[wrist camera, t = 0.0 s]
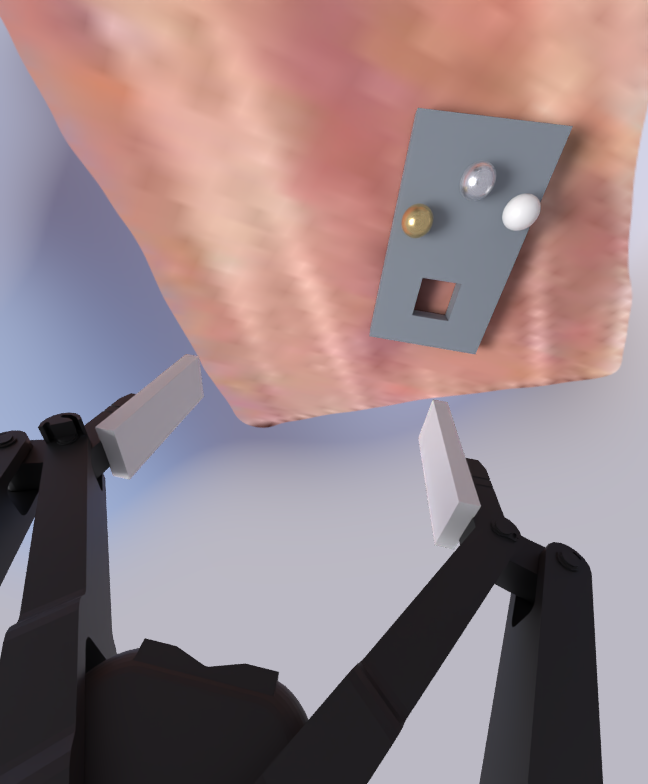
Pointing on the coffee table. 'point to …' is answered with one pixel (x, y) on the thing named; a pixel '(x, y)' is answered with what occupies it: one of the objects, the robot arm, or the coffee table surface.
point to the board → (460, 223)
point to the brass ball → (417, 220)
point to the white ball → (521, 212)
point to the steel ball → (477, 180)
